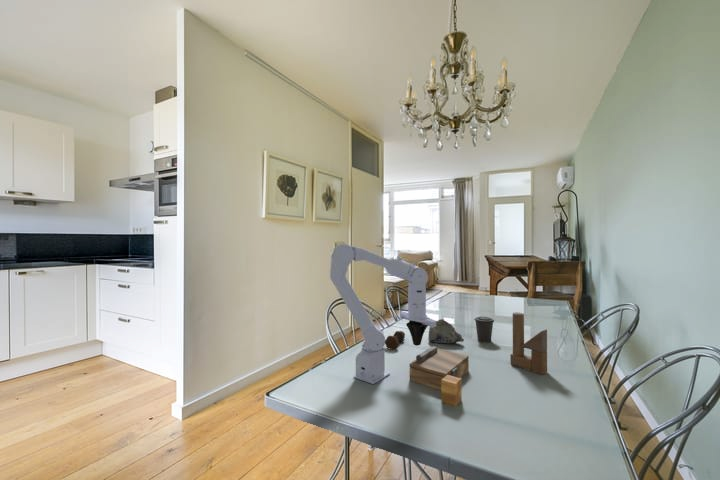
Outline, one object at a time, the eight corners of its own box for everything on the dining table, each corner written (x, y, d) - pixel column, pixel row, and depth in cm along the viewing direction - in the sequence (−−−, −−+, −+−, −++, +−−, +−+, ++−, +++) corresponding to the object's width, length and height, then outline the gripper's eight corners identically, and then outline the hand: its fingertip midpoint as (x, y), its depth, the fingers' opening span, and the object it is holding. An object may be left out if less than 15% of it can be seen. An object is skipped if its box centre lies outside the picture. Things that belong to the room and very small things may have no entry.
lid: (448, 385, 89) (448, 368, 89) (409, 373, 97) (409, 358, 97) (470, 365, 103) (470, 351, 103) (434, 356, 111) (434, 343, 111)
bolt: (403, 343, 138) (392, 353, 125) (393, 336, 140) (382, 345, 127) (409, 332, 137) (399, 341, 124) (400, 325, 139) (389, 333, 126)
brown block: (455, 406, 82) (455, 383, 82) (441, 402, 84) (441, 379, 84) (461, 400, 85) (461, 378, 85) (447, 396, 87) (447, 374, 87)
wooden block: (542, 375, 100) (541, 319, 100) (510, 364, 109) (509, 313, 109) (547, 372, 102) (547, 317, 102) (515, 362, 111) (515, 311, 111)
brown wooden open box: (446, 391, 90) (446, 378, 90) (409, 380, 97) (409, 367, 97) (468, 371, 104) (468, 359, 104) (434, 362, 111) (434, 351, 111)
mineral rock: (465, 345, 129) (465, 321, 129) (446, 350, 124) (446, 324, 124) (442, 337, 140) (442, 314, 140) (424, 341, 135) (424, 317, 135)
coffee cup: (470, 339, 137) (470, 316, 137) (483, 336, 141) (483, 314, 141) (484, 344, 130) (484, 320, 130) (498, 341, 133) (498, 318, 133)
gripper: (442, 305, 99) (442, 348, 99) (410, 298, 111) (410, 336, 110) (427, 308, 95) (427, 353, 95) (395, 300, 106) (395, 340, 106)
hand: (417, 344), depth 102 cm, fingers closed
